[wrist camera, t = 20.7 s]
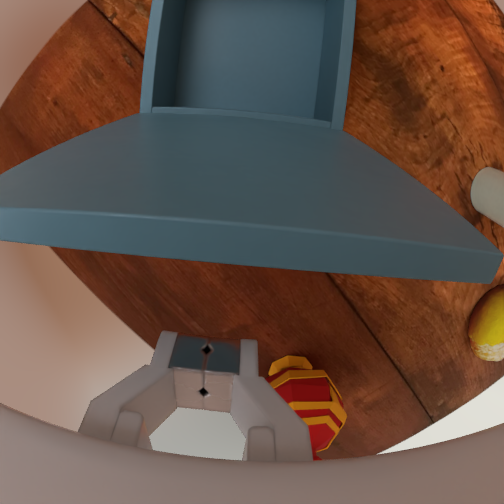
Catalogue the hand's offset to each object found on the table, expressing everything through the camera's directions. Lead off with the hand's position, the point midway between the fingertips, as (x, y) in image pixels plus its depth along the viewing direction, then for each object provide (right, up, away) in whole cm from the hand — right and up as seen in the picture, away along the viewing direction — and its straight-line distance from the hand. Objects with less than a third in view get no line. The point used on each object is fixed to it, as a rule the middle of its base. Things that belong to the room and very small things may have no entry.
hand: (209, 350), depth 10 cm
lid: (+1, +7, +1) cm, 7 cm away
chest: (+1, +20, +11) cm, 23 cm away
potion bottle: (+6, -11, +26) cm, 29 cm away
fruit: (+34, -5, +24) cm, 42 cm away
